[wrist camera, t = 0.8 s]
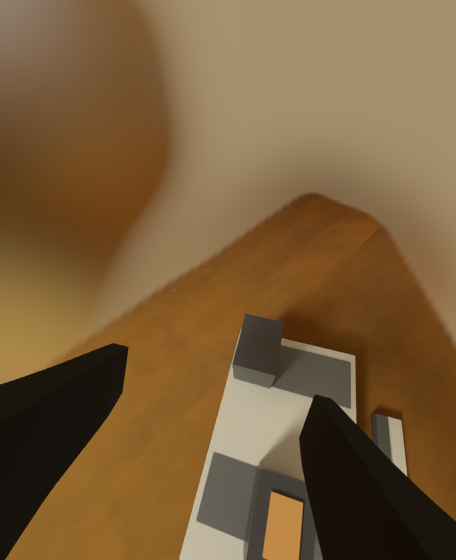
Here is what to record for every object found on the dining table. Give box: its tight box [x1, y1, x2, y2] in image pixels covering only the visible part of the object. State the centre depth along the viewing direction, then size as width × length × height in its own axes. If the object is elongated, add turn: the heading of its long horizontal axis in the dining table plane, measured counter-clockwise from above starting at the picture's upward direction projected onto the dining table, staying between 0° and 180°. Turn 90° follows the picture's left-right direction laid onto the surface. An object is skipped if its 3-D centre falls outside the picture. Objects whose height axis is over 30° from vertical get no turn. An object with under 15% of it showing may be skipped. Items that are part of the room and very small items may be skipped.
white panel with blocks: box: [179, 314, 356, 560], centre depth 15 cm, size 23×10×8 cm, turn 164°
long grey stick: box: [371, 413, 407, 476], centre depth 16 cm, size 16×2×1 cm, turn 164°
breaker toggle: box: [243, 464, 315, 560], centre depth 13 cm, size 4×3×4 cm
